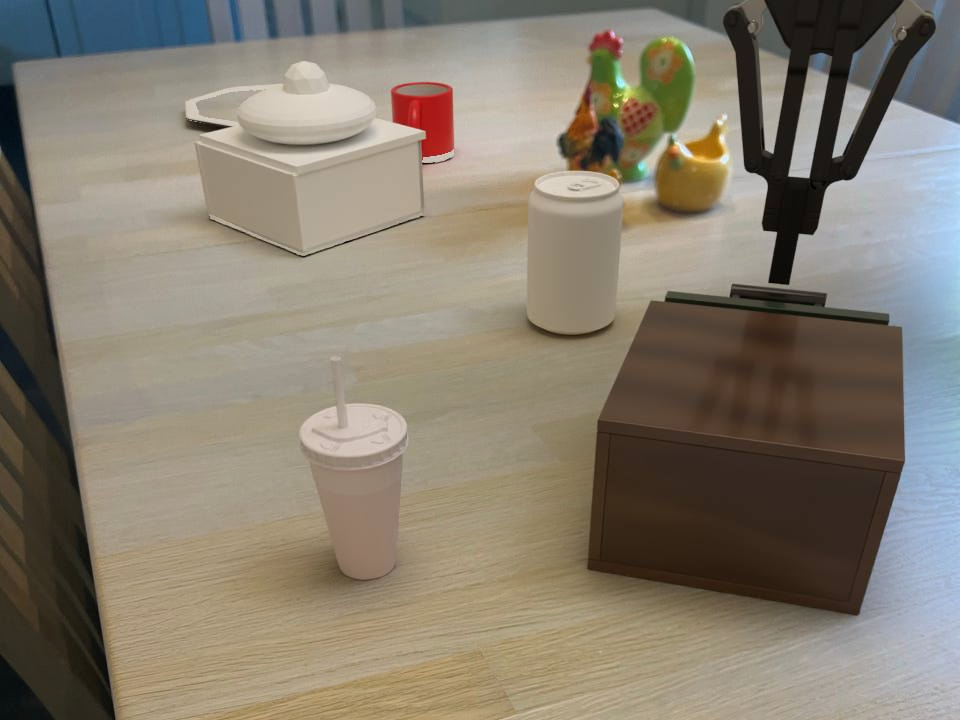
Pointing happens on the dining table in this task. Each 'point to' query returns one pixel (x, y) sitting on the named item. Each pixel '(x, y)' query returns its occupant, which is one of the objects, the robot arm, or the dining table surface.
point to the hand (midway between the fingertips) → (779, 276)
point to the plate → (191, 107)
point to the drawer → (778, 303)
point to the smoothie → (358, 478)
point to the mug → (426, 113)
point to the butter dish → (311, 164)
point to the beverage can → (573, 251)
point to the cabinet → (750, 454)
